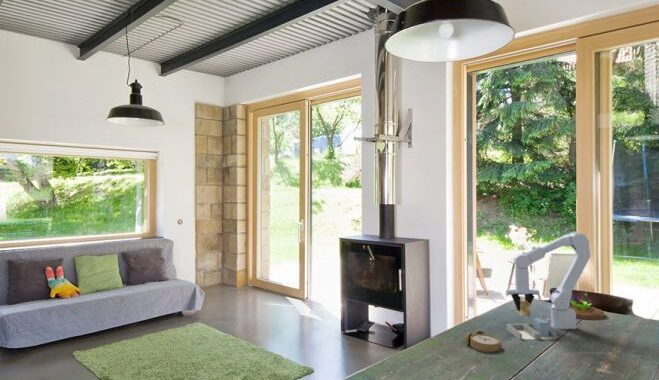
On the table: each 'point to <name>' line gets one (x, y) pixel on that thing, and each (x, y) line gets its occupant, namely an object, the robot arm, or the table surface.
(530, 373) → the table surface
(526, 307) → the maple plug block
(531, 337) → the grey socket board
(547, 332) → the slate-blue plug block
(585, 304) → the plant
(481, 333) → the alarm clock
